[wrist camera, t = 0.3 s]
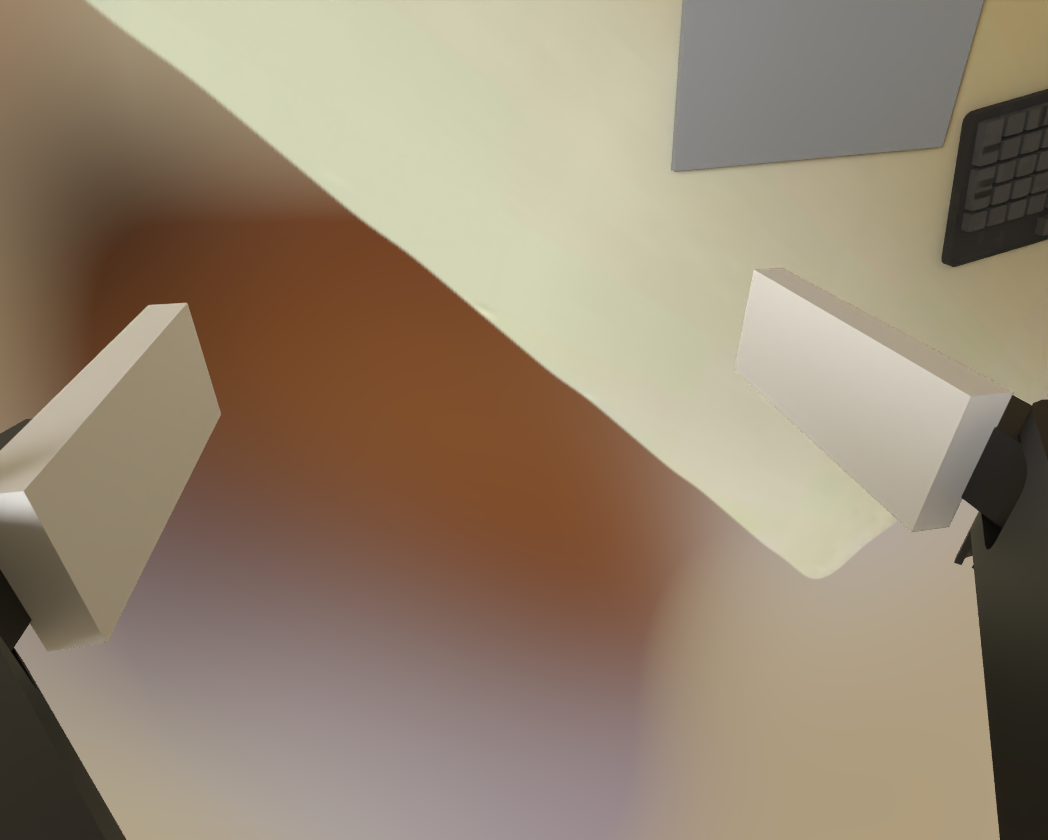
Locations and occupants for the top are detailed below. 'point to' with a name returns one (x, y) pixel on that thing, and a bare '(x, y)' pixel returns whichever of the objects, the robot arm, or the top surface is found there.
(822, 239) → the top surface
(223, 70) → the top surface
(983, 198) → the keyboard
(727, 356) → the top surface
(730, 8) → the mat
